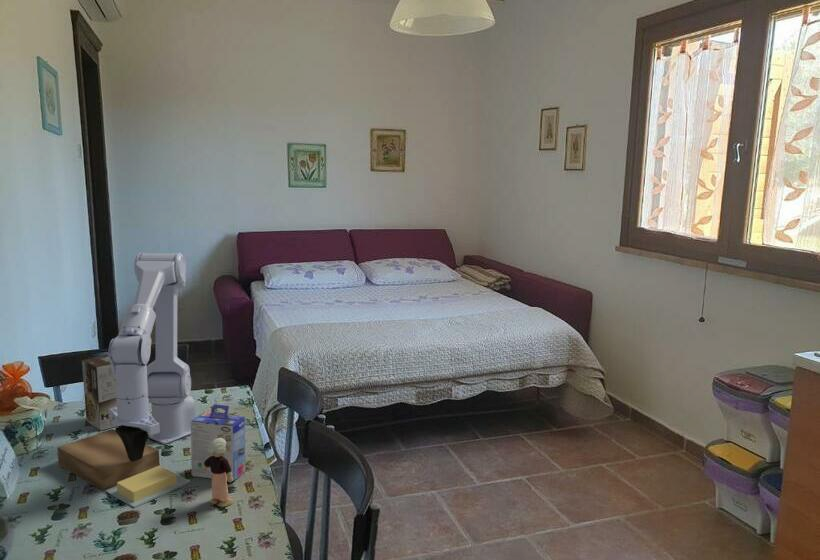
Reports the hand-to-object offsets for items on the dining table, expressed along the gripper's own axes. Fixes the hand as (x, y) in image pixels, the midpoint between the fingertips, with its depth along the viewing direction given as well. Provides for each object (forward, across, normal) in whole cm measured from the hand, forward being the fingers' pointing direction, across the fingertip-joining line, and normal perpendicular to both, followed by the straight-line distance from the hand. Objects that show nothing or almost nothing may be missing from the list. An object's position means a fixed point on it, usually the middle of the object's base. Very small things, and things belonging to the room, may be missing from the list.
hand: (135, 459), depth 120 cm
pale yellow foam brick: (+2, +5, -1) cm, 5 cm away
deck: (+5, -10, 0) cm, 11 cm away
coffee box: (+5, -33, +12) cm, 36 cm away
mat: (+5, +4, 0) cm, 6 cm away
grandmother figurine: (+5, +20, +5) cm, 21 cm away
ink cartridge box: (+5, +11, +12) cm, 17 cm away
